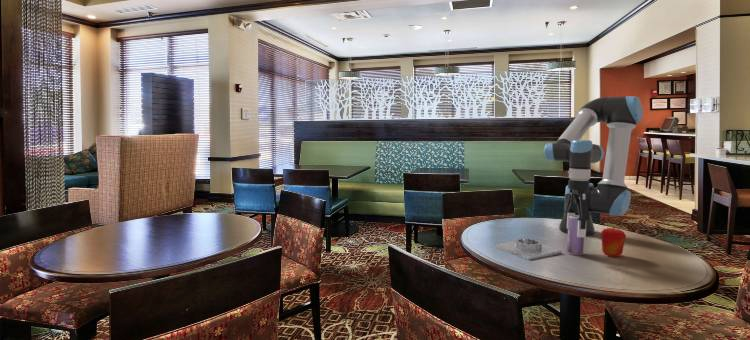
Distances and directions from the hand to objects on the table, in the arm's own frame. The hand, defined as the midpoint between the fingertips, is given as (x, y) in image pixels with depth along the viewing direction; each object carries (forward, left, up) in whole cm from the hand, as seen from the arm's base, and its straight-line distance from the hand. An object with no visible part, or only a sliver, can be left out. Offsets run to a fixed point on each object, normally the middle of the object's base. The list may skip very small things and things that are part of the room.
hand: (575, 232), depth 163 cm
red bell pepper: (-11, +8, -9) cm, 16 cm away
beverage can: (0, 0, -9) cm, 9 cm away
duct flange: (+14, -11, -8) cm, 20 cm away
